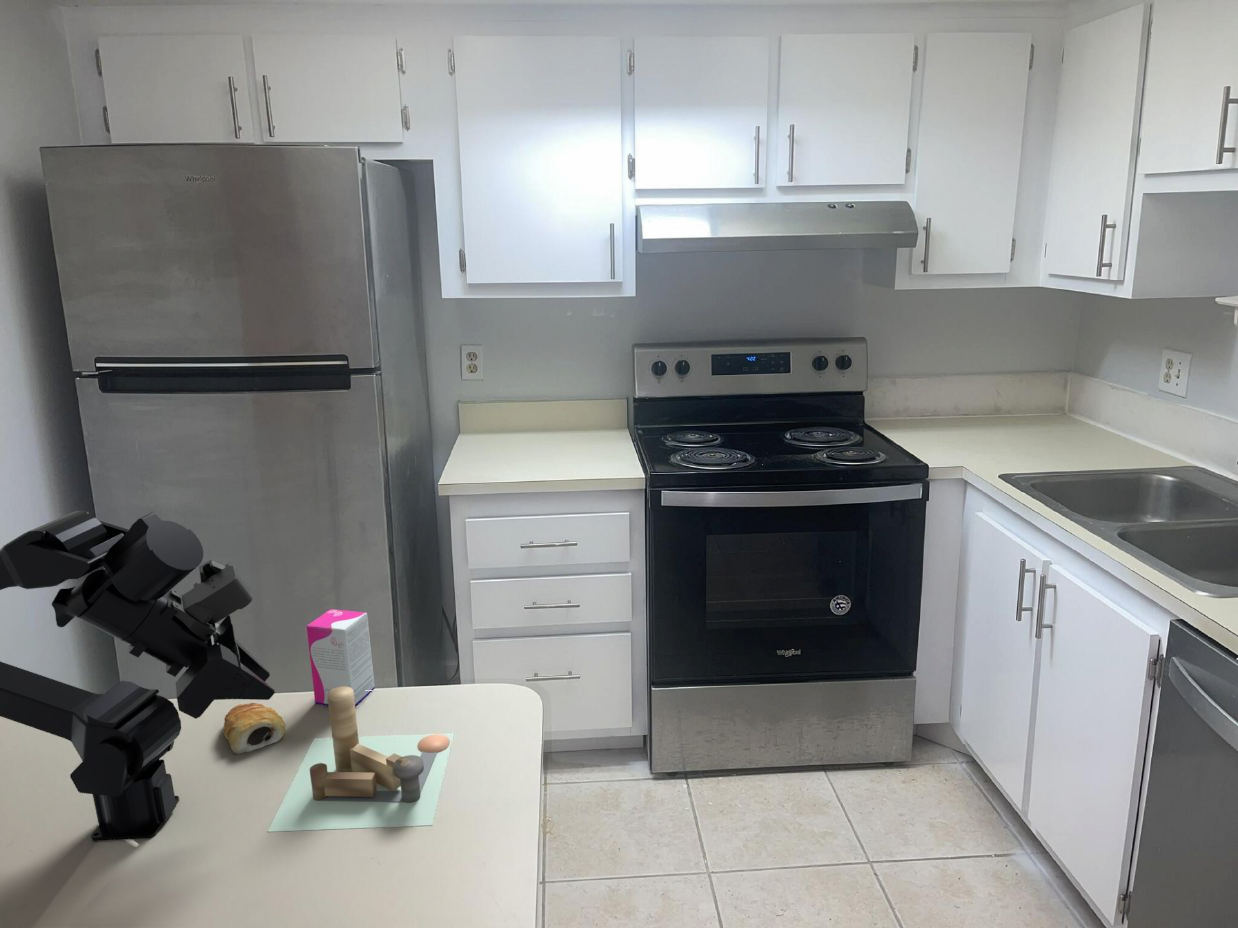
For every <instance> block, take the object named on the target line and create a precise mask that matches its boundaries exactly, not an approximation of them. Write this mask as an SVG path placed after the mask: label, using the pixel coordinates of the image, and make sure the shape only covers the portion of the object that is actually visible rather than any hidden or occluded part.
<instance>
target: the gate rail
mask: <svg viewBox="0 0 1238 928" xmlns="http://www.w3.org/2000/svg"><path fill="white" fill-rule="evenodd" d="M327 696H328V705H329V706H328V711H329V712H328V713H329V720H330V728H331V729H330V730H331V738H332V739H333V748H334V756H335V765H336V770H337V772H361V773H375V778H376V783H378V784H380V785H382V786H384V787H387V788H389V789H391V790H393V791H395V790H396V789H397V788H399V787H400V786H401V783H400V779H412V778H415V777H417V776H419V775H420V774H421V773H422V772H423V770H424V763H423V759H422V758H421V757H419V756H416V755H408V756H404V757H402V756H399V755H397V754H395V753H394V754H392V755H391V756H389V757H388V756H385V755H383V754H381V753H379V752H376V751H374V750H372V749H369V748H367V747H365V746H363V745H360V744H359V739H358V737H359V732H358V722H357V713H356V707H355V702H354V692H353V689H352V688H350V687H346V686H343V687H337V688H334V689H332V690H330V691H329V692H328V694H327Z"/></svg>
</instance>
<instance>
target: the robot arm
mask: <svg viewBox="0 0 1238 928" xmlns="http://www.w3.org/2000/svg"><path fill="white" fill-rule="evenodd" d="M203 559H204V548H203V545H202V543H201V541H200V539H199V538H198V536H197V535H196V534H195V532H194V531H193V530H192V529H188V528H186V527H184V525H182V524H179V523H178V522H174V521H171V520H165V519H164V520H162V519H161V518H160V517H159V516H158V514H157V513H156V512H153V511H152V512H149V513H148V514H145V515H144V516H141V517H139V518H138V519H136V520H135V522H133V523H132V525H130V528H129V529H128V528H125V527H121V526H119V525H114V524H113V523H108V522H105V521H103V520H99V519H98V518H97V517H95V516H93V515H92V514H90V512H89V511H85V510H75V511H72V512H70V513H68V514H66V515H63V516H60V517H58V518H55V519H54V520H52V521H49V522H47V523H45V524H43V525H40V526H37V527H35V528H33V529H30V530H29V531H27V532H24V533H22V534H20V535H19V536H17V537H16V538H14V539H12V540H11V541H10V542H9V541H8V542H7V543H6V544H4V545H3V546H2V547H1V548H0V591H2V590H5V589H8V588H14V587H19V588H22V589H25V590H33V589H44V588H52V587H58V586H59V585H61V584H63V583H65V582H67V581H69V580H78V579H81V578H82V577H85V578H83V580H81V581H80V582H79V583H78V584H77V585H75V586H71V587H69V588H68V587H67V588H60V589H58V592H57V593H56V595H55V597H54V599H53V600H52V602H51V607H52V609H53V610H54V614H55V622H56V626H57V627H58V628H64V627H66V626H67V625H68V624H69V623H70V622H71V621H72V620H74V618H77V619H79V620H81V621H82V622H85V623H87V624H88V625H90V626H93V627H95V628H96V629H99V631H102V632H103V633H106V634H108V635H110V636H111V637H113V638H116V639H117V640H119V641H121V642H122V643H124V644H127V645H128V654H130V655H132V656H134V657H136V658H139V657H140V656H141V655H142V654H143V653H144V654H146V655H147V656H150V657H151V658H153V659H155V660H158V661H159V662H161V663H163V664H165V671H166V672H165V673H167V674H169V675H170V676H172V677H175V678H176V677H177V676H178V674H179V673H180V672H181V670H183V668H186V669H185V670H184V672H183V673H182V674H181V675H180V676H179V678H178V679H177V680H176V681H175V692H176V702H177V706H178V709H177V708H176V706H175V704H174V703H173V702H172V701H171V700H169V699H168V698H166V697H164V696H162V695H159V692H160V690H159V689H157V688H156V689H153V688H152V689H150V688H145V687H142V686H140V685H139V684H136V683H135V682H132V681H127V680H121V681H120V682H119V683H117V684H116V685H114V686H112V687H111V688H110V689H108V690H107V691H106V692H105V693H96V692H92V691H89V690H85V689H83V688H80V687H77V686H74V685H71V684H68V683H65V682H63V681H59V680H57V679H52V678H50V677H47V676H46V675H45V676H44V675H41V674H38V673H35V672H32V671H30V670H27V669H24V668H21V667H18V666H14V665H12V664H8V663H6V662H2V661H0V717H1V718H4V719H7V720H10V721H13V722H16V723H18V724H22V725H24V726H28V727H29V728H33V729H36V730H38V731H42V732H44V733H48V734H51V735H54V736H56V737H60V738H62V739H65V740H68V741H69V742H70V743H71V744H72V745H73V748H74V749H75V751H76V753H77V754H78V756H79V757H80V760H81V762H80V763H79V764H78V766H76V767H75V769H74V770H73V771H72V772H71V773H70V775H69V778H70V779H71V781H72V783H73V785H74V786H75V788H76V790H77V791H78V793H80V794H87V795H88V794H89V795H92V798H93V804H94V809H95V813H96V818H97V822H98V825H97V827H96V828H95V829H94V831H93V832H92V833H91V835H90V838H91V841H92V842H100V841H101V842H103V841H107V842H108V841H126V840H127V841H128V840H130V841H131V840H134V839H135V840H140V839H143V840H144V839H146V840H147V839H152V838H155V837H156V836H157V834H158V833H159V831H160V830H161V828H162V827H163V826H164V824H165V823H166V821H167V820H168V819H169V818H170V816H171V815H172V813H173V812H174V810H175V808H176V807H177V805H178V803H179V802H180V797H179V796H178V795H175V790H174V784H173V779H172V775H171V774H170V773H167V769H166V764H165V763H166V762H165V759H161V758H162V757H163V756H165V755H166V754H167V753H168V752H171V751H172V750H173V748H174V744H175V741H176V740H177V738H178V737H179V736H180V734H181V730H182V721H181V718H180V714H179V712H181V713H183V714H186V715H188V716H189V717H192V718H193V719H198V718H199V719H200V718H201V716H202V715H203V714H204V713H205V712H206V711H207V710H208V708H209V707H210V706H211V704H212V703H213V702H214V701H218V700H219V701H220V700H251V701H252V700H253V701H254V700H256V701H257V700H258V701H260V700H262V701H263V700H264V701H268V700H270V699H271V698H273V696H274V695H275V693H276V692H275V688H273V687H272V686H271V685H269V684H268V683H267V682H266V681H267V680H268V679H269V678H270V676H271V673H270V671H268V670H267V668H265V667H264V666H263V664H261V663H260V662H259V660H258V659H256V658H255V657H254V656H253V655H252V654H251V653H250V652H249V651H248V650H247V649H246V648H245V647H244V645H243V644H241V643H240V641H239V640H238V639H237V638H236V637H235V631H234V626H233V621H232V616H231V614H233V613H234V612H236V611H238V610H242V609H244V608H246V607H247V606H249V605H250V604H251V603H252V601H253V599H254V598H253V595H252V593H251V588H250V586H249V585H248V584H247V583H246V581H245V580H244V578H243V577H242V576H241V574H240V573H239V571H238V569H237V568H236V567H235V566H234V565H231V564H230V563H228V562H227V564H225V565H223V564H222V563H219V562H218V561H217V562H216V561H215V560H212V559H210V560H208V561H207V562H205V563H203V564H201V563H202V561H203ZM101 567H103V569H99V568H101ZM197 567H198V571H199V580H200V582H199V583H198V582H195V583H194V584H193V588H192V589H190V590H188V591H186V592H185V593H181V592H179V591H177V590H175V589H173V588H175V587H176V586H177V585H178V584H179V583H180V582H182V581H183V580H184V579H185V578H187V576H188V575H190V573H192V572H193V571H194V570H195V569H197ZM97 569H98V570H97ZM86 575H87V576H86ZM220 621H221V622H220ZM219 622H220V623H219ZM178 711H179V712H178Z"/></svg>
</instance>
